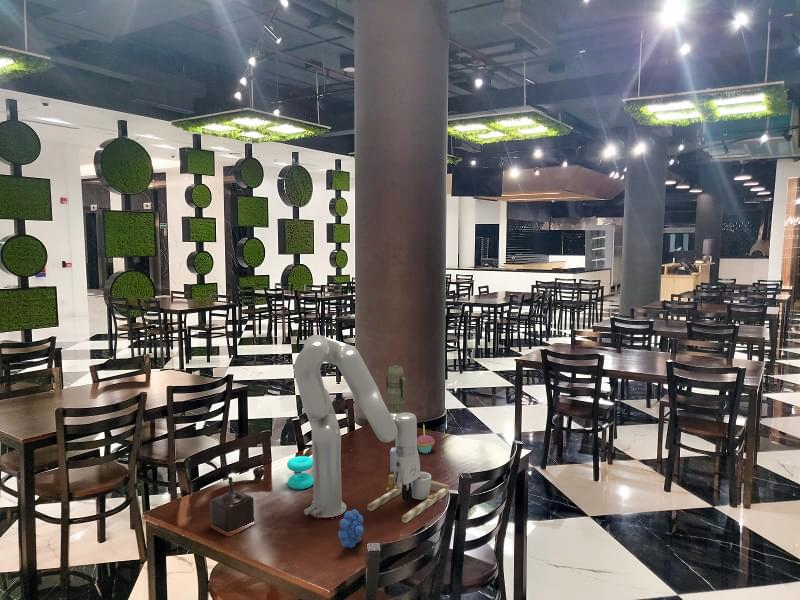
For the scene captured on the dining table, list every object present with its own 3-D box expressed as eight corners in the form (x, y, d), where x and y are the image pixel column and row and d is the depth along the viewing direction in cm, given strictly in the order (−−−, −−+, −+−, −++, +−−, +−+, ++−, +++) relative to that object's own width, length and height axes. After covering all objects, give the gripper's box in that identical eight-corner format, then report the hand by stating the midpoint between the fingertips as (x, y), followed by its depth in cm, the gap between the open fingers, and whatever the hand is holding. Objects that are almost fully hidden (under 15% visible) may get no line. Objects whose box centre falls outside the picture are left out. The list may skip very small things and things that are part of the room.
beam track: (406, 523, 186) (406, 505, 185) (358, 507, 197) (358, 490, 197) (449, 493, 208) (449, 477, 208) (404, 480, 220) (403, 465, 219)
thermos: (392, 434, 274) (392, 362, 270) (412, 439, 266) (411, 365, 263) (380, 438, 267) (379, 365, 264) (400, 444, 260) (399, 368, 256)
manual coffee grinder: (229, 538, 177) (227, 482, 176) (209, 527, 184) (206, 474, 182) (269, 519, 189) (267, 467, 188) (248, 510, 196) (247, 459, 195)
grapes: (352, 560, 164) (351, 521, 163) (333, 554, 167) (332, 515, 166) (374, 542, 174) (373, 504, 173) (356, 537, 177) (355, 500, 176)
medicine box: (410, 468, 232) (410, 447, 231) (409, 472, 227) (409, 451, 226) (391, 467, 232) (391, 447, 232) (390, 472, 228) (389, 451, 227)
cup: (404, 503, 199) (404, 481, 199) (399, 494, 207) (399, 472, 207) (433, 500, 202) (434, 478, 201) (427, 491, 210) (427, 470, 209)
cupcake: (413, 449, 253) (412, 423, 252) (430, 447, 256) (430, 421, 254) (419, 456, 245) (419, 428, 244) (437, 453, 247) (437, 426, 246)
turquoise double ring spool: (319, 457, 218) (302, 466, 209) (319, 482, 218) (303, 492, 210) (298, 453, 222) (281, 461, 213) (298, 477, 223) (282, 487, 214)
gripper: (402, 457, 190) (403, 510, 191) (427, 444, 202) (427, 494, 203) (384, 453, 194) (385, 504, 196) (409, 440, 206) (410, 489, 208)
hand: (407, 499), depth 200 cm, fingers closed
